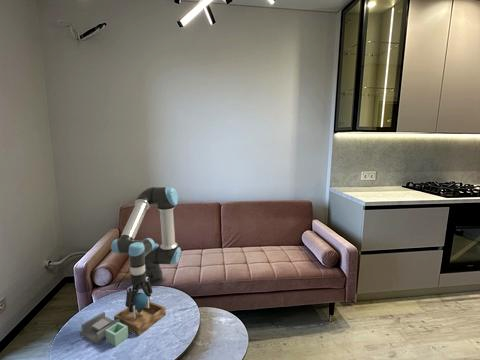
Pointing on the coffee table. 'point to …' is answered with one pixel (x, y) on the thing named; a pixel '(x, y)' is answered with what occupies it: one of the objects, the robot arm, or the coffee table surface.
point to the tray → (141, 318)
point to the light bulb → (140, 302)
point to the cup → (116, 334)
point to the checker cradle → (92, 333)
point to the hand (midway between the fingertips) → (140, 311)
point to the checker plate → (100, 324)
